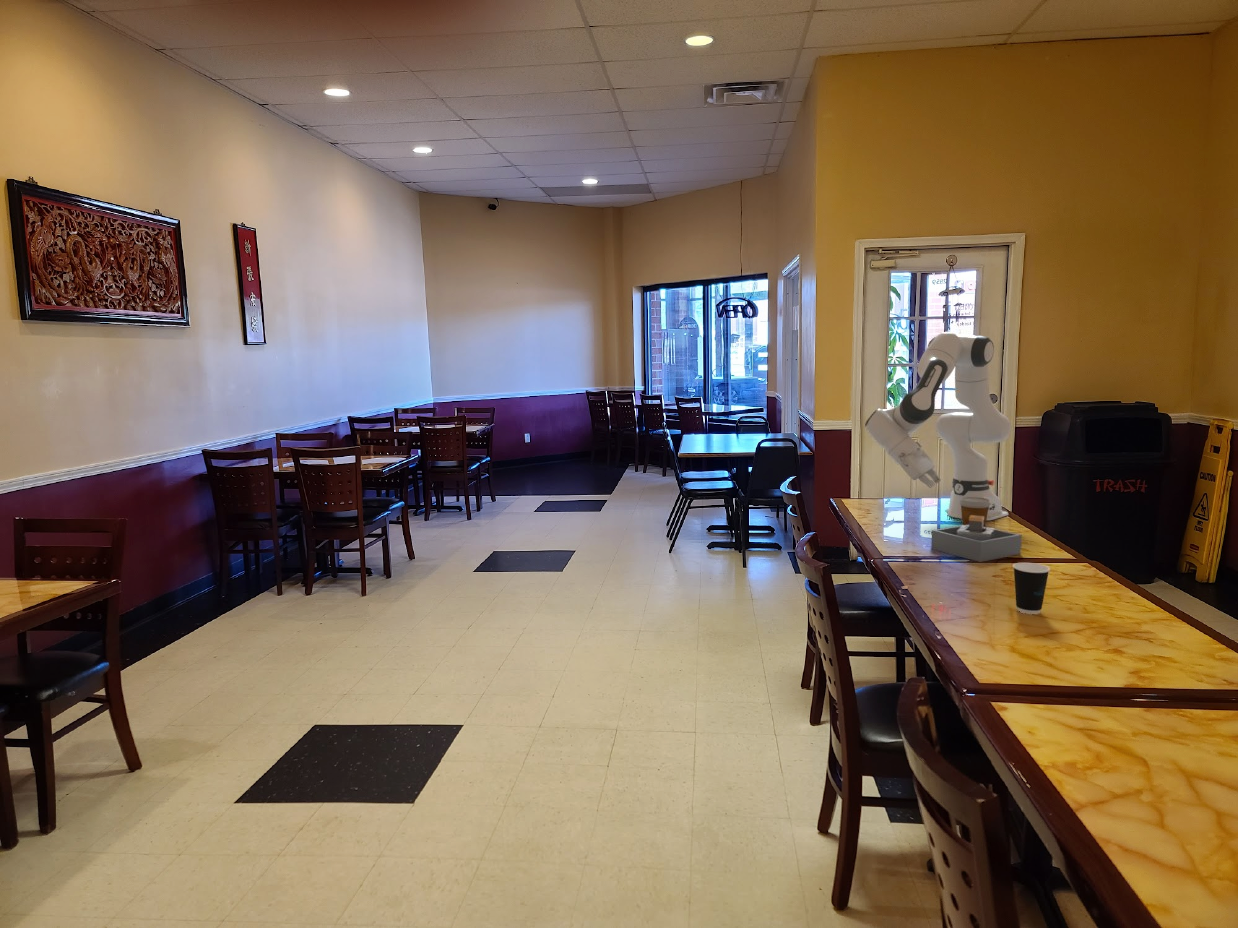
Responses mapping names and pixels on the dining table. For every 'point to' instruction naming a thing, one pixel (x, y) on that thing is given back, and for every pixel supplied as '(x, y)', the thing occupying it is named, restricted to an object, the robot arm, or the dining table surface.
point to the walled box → (976, 544)
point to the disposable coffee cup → (974, 508)
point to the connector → (976, 523)
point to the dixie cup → (1030, 586)
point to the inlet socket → (976, 533)
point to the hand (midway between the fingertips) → (936, 484)
